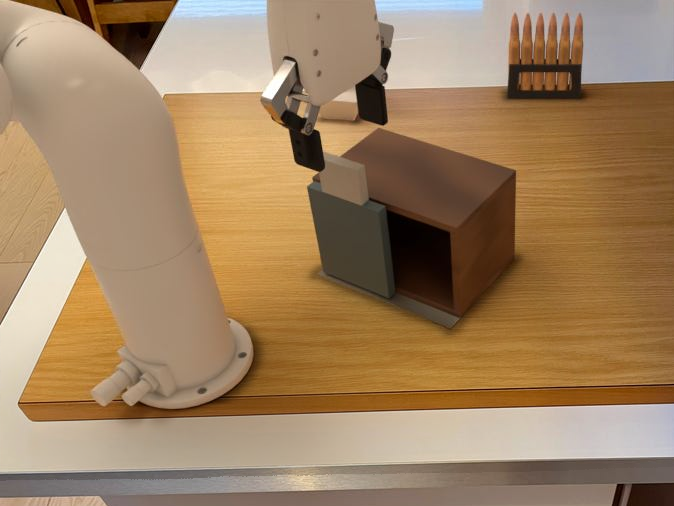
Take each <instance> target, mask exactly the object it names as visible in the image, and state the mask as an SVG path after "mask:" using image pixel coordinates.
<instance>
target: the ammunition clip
mask: <svg viewBox="0 0 674 506" xmlns="http://www.w3.org/2000/svg"><path fill="white" fill-rule="evenodd" d="M575 19H576V20H575V24H574V30H573V37H572V41H571V21H570V16H569V13H568V12H566V13H564V16H563V19H562V23H561V30H560V39H559V42H558V21H557V17H556V14H555V12H552V13H551V16H550V19H549V22H548V29H547V40H546V39H545V20H544V16H543V13H542V12H539V14H538V16H537V18H536V23H535V34H534V40H533V28H532V18H531V15H530V13H529V12H527V13H526V14H525V17H524V20H523V26H522V39H520V21H519V18H518V14H517V12H514V13H513V15H512V18H511V21H510V33H509V42H508V61H507V62H508V64H507V65H508V67H507V69H508V71H507V90H506V91H507V92H506V97H507V98H508V99H576V100H577V99H581V98H582V72H583V71H582V70H583V57H584V21H583V15H582V13H581V12H579V13H578V14H577V15H576V18H575ZM533 41H534V42H533Z"/></svg>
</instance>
